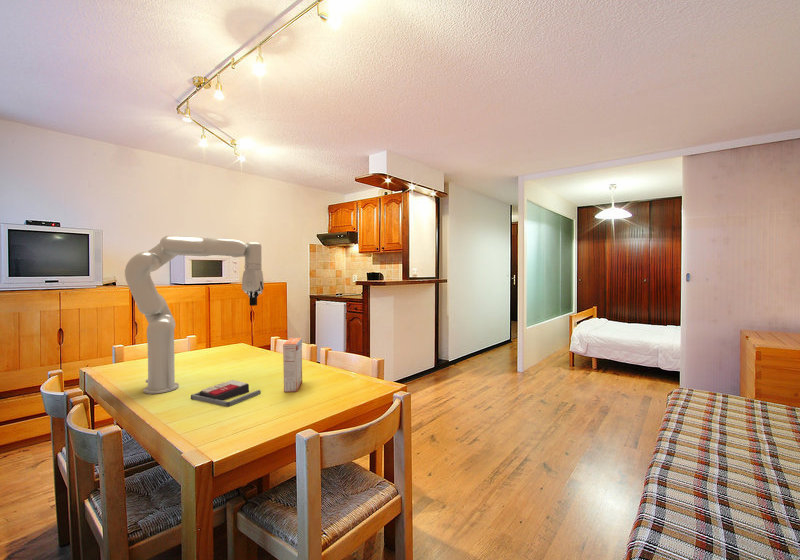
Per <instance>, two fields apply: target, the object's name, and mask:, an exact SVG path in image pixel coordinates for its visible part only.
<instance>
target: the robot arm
mask: <svg viewBox="0 0 800 560" xmlns="http://www.w3.org/2000/svg"><path fill="white" fill-rule="evenodd" d="M177 256H186V257H188V256H191V257H209V256H210V257H211V256H221V257H222V256H226V257H232V258H242V257H244V270H243V271H242V273H243V274H242V276H241V277H242V278H241V290H242V291H243V292H244V294H246V295H247V296H248V298H249V306H251V307H253V306H254V307H255V306H258V297H259V295H262V294H263V291H264V285H265V284H264V283H265V281H264V274H263V269H262V265H263V264H262V244H261V243H260V242H254V241H253V242H251V241H249V242H243V241H241V240H238V239H227V238H226V239H225V238H210V237H198V236H197V237H196V236H195V237H194V236H184V235H183V236H182V235H165V236H163V237H162V238H161V239H160V241H159V243H158V244H156V245H155V246H154V247H152V248H151V249H149V250H148V251H141V252H138V253H136V254H135V255H133V256H132V257H131V258H130V259H129V260H128V262H127V263H126V266H125V269H124V276H125V277H124V278H125V281H126V283H127V286H128V288H129V291H130V292H131V295H132V298H133V300H134V302H135V304H136V306H137V309H138V311H139V312H140V313H141V314H142V315H144V317H145V319H146V321H147V322H148V325H147V327H146V339H147V340H146V342H147V379H146V380H145V384H147V386H146V387H144V388H143V394H144V393H145V394H149V395H150V394H151V395H155V394H163V393H168V392H172V391H174V390H176V389H178V388H179V387H180V383H178V382H176V381H175V373H176V372H175V328H176V321H175V318H174V315H173V314H172V311H171V310H170V308H169V305H168V303H167V301H166V299H165V298H164V296H163V295H161V294H159V292H158V290H157V287H156V286H155V283H154V281H153V279H152V277H151V272H155V271H157V270H159V269H161V268H162V267H163V266H164V265H166V264H168V262H170V261H172V260H173V259H174V258H175V257H177Z"/></svg>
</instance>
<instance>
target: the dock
mask: <svg viewBox="0 0 800 560" xmlns="http://www.w3.org/2000/svg"><path fill="white" fill-rule="evenodd" d="M261 392H262V391H261V389H257V390H255V391H252V392H250V393H249V392H248V394H247V393H246V394H245V395H244V394H243V395H242V396H239V397H237V398H235V399H232V400H229V401H226V400H218V399H213V398H208V397H204V396H200V391H199V392H195V393H193V394H191V395H190V399H191V400H194V401H200V402H202V403H203V402H204V403H207V404H208V403H209V404H213V405H217V406H223V407H226V408H228V407H232V406H234V405H236V404H238V403H241V402H244V401H246V400H248V399H251V398H254V397H256V396H258V394H259V395H260V394H261ZM253 396H254V397H253Z"/></svg>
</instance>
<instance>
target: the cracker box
mask: <svg viewBox="0 0 800 560" xmlns="http://www.w3.org/2000/svg"><path fill="white" fill-rule="evenodd" d="M282 350H283V354H282V355H283V357H282V358H283V392H284V393H294V392H298V391H299V389H300V387H301V384H302V383H303V339H302V337H290V338H288V339H287V340H286V341H285V342H284V343H283V345H282Z"/></svg>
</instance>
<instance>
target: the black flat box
mask: <svg viewBox="0 0 800 560" xmlns="http://www.w3.org/2000/svg"><path fill="white" fill-rule="evenodd" d="M199 392H200V396H204V397H208V398H213V399H218V400H223V401H226V400H228V399H231V398H234V397H236V396H238V395H244V394H247V393H249V392H250V389H249V383H248V382H247V383H246V382H243V381H239V380H234V379H231V380H228V381H225V382H221V383H218V384H215V385H213V386H209V387H206V388H202V389H201V390H200V391H199Z"/></svg>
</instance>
